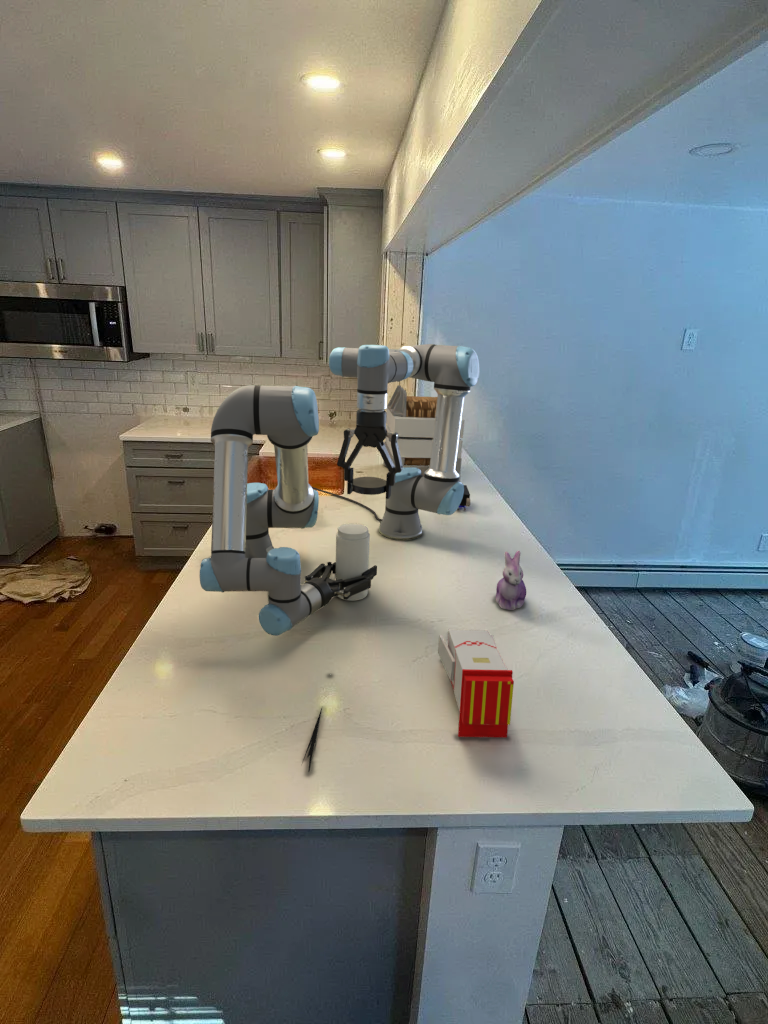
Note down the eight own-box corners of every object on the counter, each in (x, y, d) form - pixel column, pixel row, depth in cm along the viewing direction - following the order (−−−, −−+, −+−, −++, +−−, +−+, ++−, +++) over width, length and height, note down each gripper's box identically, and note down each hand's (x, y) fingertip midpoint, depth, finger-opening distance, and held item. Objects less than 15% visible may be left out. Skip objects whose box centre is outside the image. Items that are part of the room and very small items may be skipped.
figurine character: (470, 515, 225) (465, 499, 238) (472, 498, 221) (467, 483, 235) (453, 515, 224) (449, 499, 238) (455, 497, 221) (451, 482, 234)
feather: (331, 679, 122) (336, 673, 122) (307, 777, 96) (313, 769, 95) (324, 675, 122) (329, 669, 121) (298, 772, 95) (304, 764, 95)
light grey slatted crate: (382, 463, 289) (386, 382, 275) (445, 464, 293) (451, 384, 279) (390, 482, 257) (394, 392, 243) (460, 483, 261) (468, 394, 247)
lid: (357, 496, 142) (358, 489, 141) (345, 484, 150) (345, 478, 150) (393, 493, 146) (393, 486, 145) (379, 482, 154) (379, 475, 153)
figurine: (508, 614, 149) (515, 562, 144) (485, 597, 158) (490, 547, 153) (536, 607, 153) (543, 557, 148) (511, 591, 162) (518, 542, 157)
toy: (488, 613, 130) (523, 677, 101) (484, 667, 133) (517, 744, 104) (435, 612, 130) (455, 676, 101) (432, 666, 133) (451, 743, 103)
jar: (367, 585, 162) (369, 522, 155) (367, 600, 153) (370, 535, 147) (336, 584, 161) (337, 522, 155) (334, 600, 153) (335, 534, 146)
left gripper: (277, 597, 147) (329, 567, 165) (346, 623, 137) (393, 588, 155) (277, 571, 145) (330, 543, 163) (347, 595, 134) (395, 563, 152)
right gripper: (324, 408, 140) (323, 494, 148) (412, 416, 135) (407, 504, 143) (333, 403, 147) (333, 486, 154) (418, 410, 142) (413, 495, 150)
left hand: (361, 565), depth 159 cm, fingers closed on jar, 9 cm apart
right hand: (368, 494), depth 149 cm, fingers closed on lid, 10 cm apart
